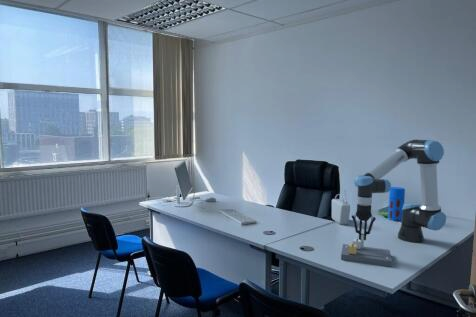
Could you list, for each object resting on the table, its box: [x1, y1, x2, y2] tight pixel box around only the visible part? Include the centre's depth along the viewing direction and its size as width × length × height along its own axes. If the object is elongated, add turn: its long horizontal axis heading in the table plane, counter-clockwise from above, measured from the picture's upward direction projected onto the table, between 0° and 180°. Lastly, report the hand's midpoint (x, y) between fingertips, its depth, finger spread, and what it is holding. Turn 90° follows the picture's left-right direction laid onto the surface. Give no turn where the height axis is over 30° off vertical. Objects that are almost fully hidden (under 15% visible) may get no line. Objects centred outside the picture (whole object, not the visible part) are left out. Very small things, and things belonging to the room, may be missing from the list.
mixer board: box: [340, 243, 393, 268], centre depth 191 cm, size 25×18×3 cm
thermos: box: [387, 186, 406, 222], centre depth 274 cm, size 11×11×25 cm
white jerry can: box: [331, 189, 351, 226], centre depth 264 cm, size 22×8×25 cm, turn 4°
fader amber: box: [348, 243, 357, 255], centre depth 189 cm, size 4×5×4 cm
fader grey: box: [352, 238, 361, 249], centre depth 197 cm, size 4×5×4 cm
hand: (361, 245), depth 196 cm, fingers closed
